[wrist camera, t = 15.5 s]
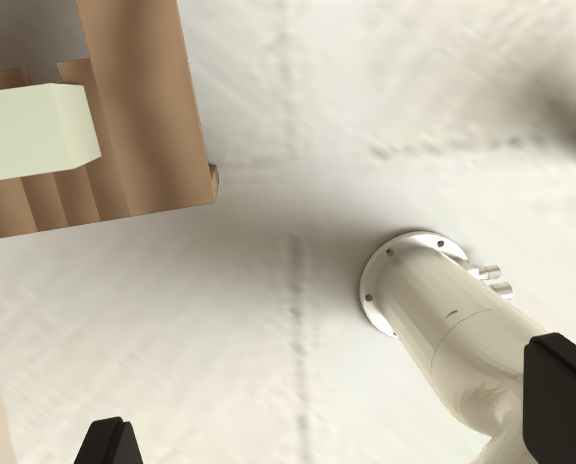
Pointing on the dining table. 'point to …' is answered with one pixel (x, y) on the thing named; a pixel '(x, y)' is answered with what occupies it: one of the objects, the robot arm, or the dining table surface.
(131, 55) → the keyhole shelf
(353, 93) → the dining table surface
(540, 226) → the dining table surface
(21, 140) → the peg
